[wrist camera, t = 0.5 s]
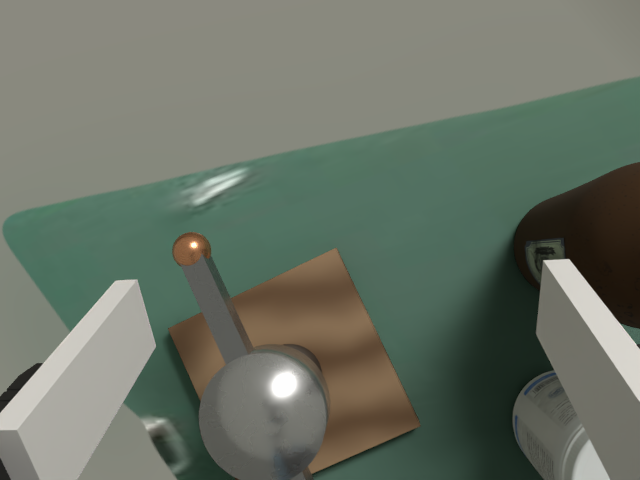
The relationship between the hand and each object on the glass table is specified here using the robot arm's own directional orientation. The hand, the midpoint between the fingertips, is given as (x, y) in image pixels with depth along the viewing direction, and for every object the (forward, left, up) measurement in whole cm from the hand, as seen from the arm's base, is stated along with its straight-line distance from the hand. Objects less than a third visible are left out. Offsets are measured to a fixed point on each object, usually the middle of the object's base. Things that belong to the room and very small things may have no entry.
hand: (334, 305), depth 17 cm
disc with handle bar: (-5, +10, -23) cm, 25 cm away
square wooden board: (-6, +10, -33) cm, 35 cm away
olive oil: (-6, -18, -33) cm, 38 cm away
